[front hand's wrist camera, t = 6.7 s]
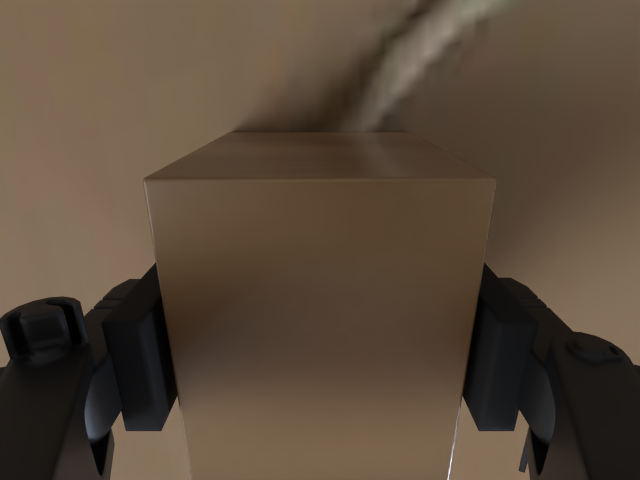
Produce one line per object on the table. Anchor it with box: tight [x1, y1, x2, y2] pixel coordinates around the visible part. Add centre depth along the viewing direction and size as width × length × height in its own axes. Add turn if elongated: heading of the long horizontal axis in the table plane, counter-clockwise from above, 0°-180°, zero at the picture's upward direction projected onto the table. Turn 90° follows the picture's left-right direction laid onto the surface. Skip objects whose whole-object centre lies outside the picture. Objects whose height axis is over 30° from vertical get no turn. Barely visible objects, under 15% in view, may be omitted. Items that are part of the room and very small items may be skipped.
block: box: [143, 132, 497, 480], centre depth 12 cm, size 8×6×7 cm
